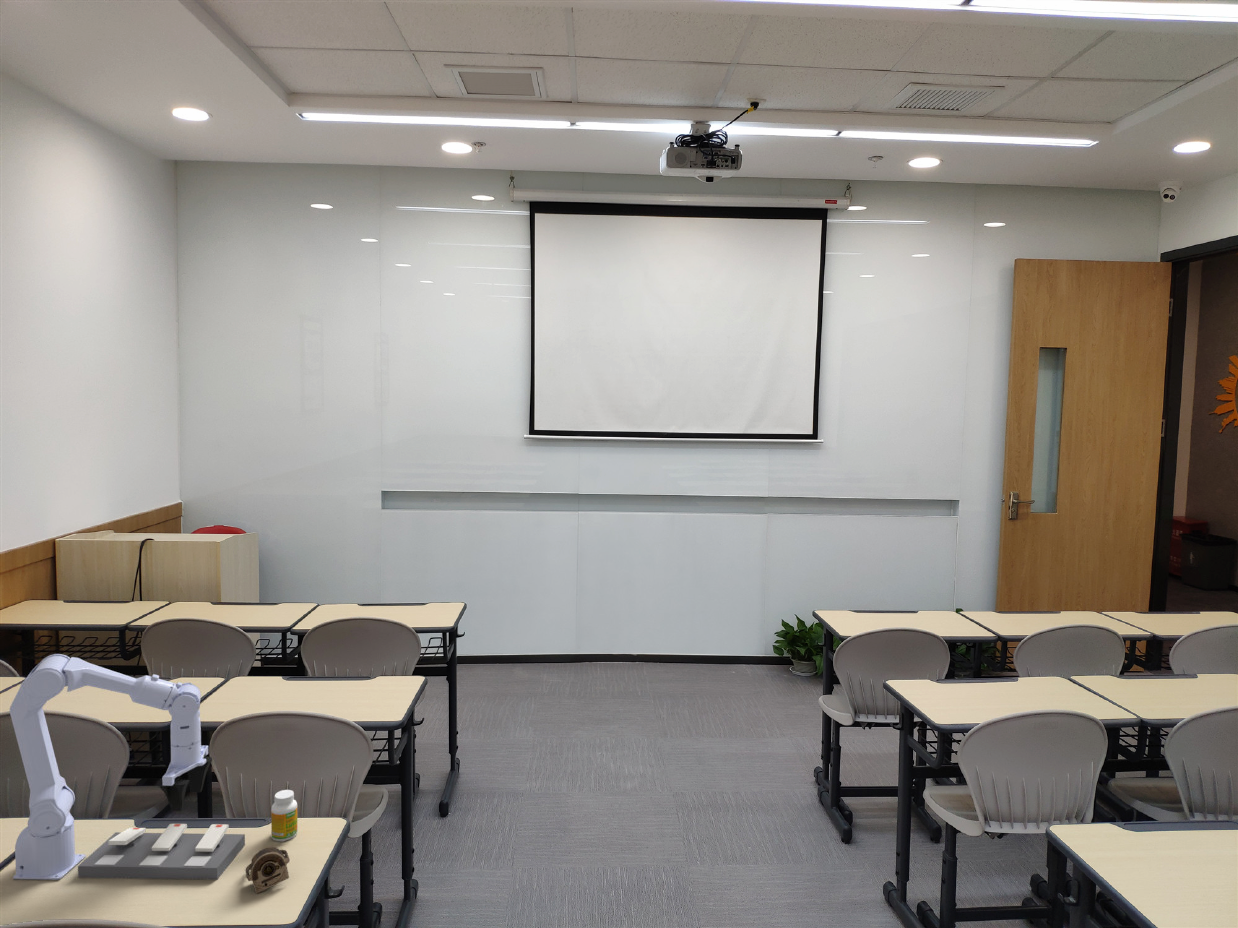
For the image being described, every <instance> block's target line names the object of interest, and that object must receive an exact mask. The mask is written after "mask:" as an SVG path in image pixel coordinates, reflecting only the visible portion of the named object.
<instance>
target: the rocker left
mask: <svg viewBox="0 0 1238 928" xmlns="http://www.w3.org/2000/svg"><path fill="white" fill-rule="evenodd" d="M146 829H147V828H146V827H128V828H127V829H124V831H121V833H120V834H118V835H117V836H115V837H114V838H112V839H111V840H109V841H108V845H126V844H128V843H129V842H131V841H132V840H135V838H137V837H138V836H140V835H141V834H143V833H147V832H146Z"/></svg>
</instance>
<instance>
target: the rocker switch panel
mask: <svg viewBox="0 0 1238 928" xmlns="http://www.w3.org/2000/svg"><path fill="white" fill-rule="evenodd" d="M120 833H122V831H121V832H114V833H113V834H112V835H111V836H110V837H109V838H108V839H106V841H105V842H103V843H102V844H101V845H100V846H99V847H97V848H96V849H95V850H94V851H93V852H92V853H91V854H89V856H88V857H85V858H84V860H83V861H81V863H80V864H79V865H78V866H77V875H78V877H77V878H78V879H79V878H80V879H141V880H142V879H143V880H144V879H145V880H146V879H148V880H150V879H151V880H217V881H218V880H219V879H220V877H221V876H222V874H223V873H224V872H225V871H226V869H227V868H228V867H229V866H230V865H231V863H232V862H233V861H234V859H236V857H237V856H238V854H239V853H240V852H241V851H242V849H243V848H244V847H245V845H246V834H244V833H242V834H241V833H239V834H238V833H236V834H235V833H225V834H224V836H223V837H222V839H221V840H220V842H219V843H218V845H217V846H216V848H215V849H214V851H213V852H202V851H195V848H196V846H197V845H198V843H199V842H200V840H201V839H202V838H203V836H204V835H205V833H188V832H187V833H186V832H185V833H184V832H183V833H182V835H181V836H180V837H179V839H178V840H177V842H176V843H175V844H174V846H173V847H172V848H171V850H170V851H152V846H153V845H154V844H155V843H156V841H157V840H158V839H159V837H160V836H161V835H162V834H163V832H144V833H143V834H141V835H140V836H138V837H137V838H135V840H132V841H131V842H129V843H128V844H126V845H108V841H109V840H111V839H112V838H114V837H115V836H117V835H118V834H120Z"/></svg>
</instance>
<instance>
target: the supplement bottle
mask: <svg viewBox="0 0 1238 928" xmlns="http://www.w3.org/2000/svg"><path fill="white" fill-rule="evenodd" d="M270 810H271V816H270V817H271V823H270V824H271V827H270V828H271V829H270V831H271V839H272V840H273V841H275V842H285V841H289V840H292V839H293V838H294V837H296V836H297V834H298V803H297V800H296V799H295V793H294V790H291V789H282V790H279V791H278V792H276V793H275V795H274V803H272V805H271V809H270Z"/></svg>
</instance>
